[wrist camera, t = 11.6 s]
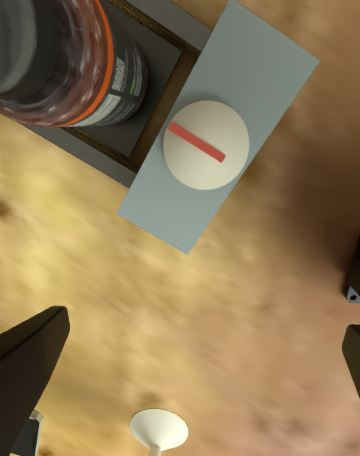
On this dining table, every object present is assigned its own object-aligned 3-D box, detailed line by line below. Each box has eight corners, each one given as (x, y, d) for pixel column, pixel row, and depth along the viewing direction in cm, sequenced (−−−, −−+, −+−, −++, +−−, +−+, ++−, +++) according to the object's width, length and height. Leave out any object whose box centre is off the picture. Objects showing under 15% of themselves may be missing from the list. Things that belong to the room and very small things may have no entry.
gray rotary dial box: (289, 78, 17) (327, 56, 12) (191, 226, 21) (186, 260, 16) (223, 32, 17) (232, -12, 11) (136, 193, 21) (112, 217, 16)
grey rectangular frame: (211, 37, 17) (212, 27, 15) (134, 184, 21) (127, 189, 19) (-91, -170, 15) (-133, -213, 13) (-116, 35, 19) (-151, 25, 17)
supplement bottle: (47, 40, 17) (-196, -90, 7) (134, 9, 16) (6, -198, 6) (81, 135, 19) (-69, 148, 9) (160, 113, 18) (99, 97, 8)
